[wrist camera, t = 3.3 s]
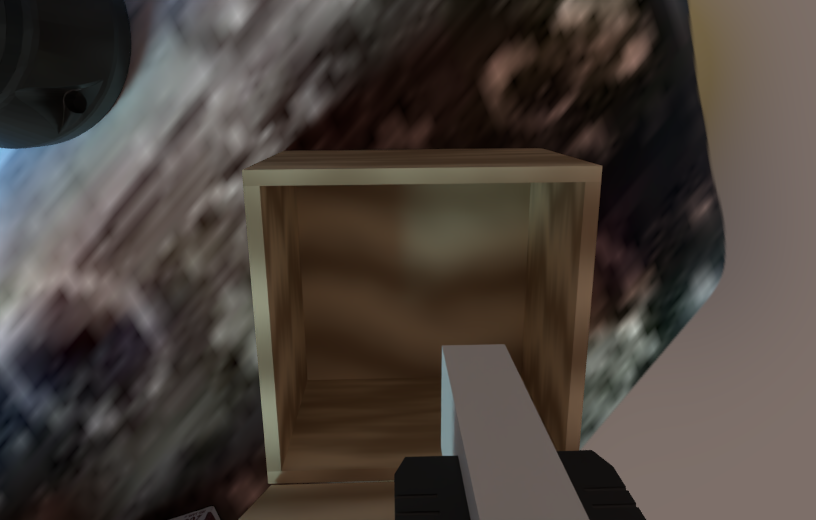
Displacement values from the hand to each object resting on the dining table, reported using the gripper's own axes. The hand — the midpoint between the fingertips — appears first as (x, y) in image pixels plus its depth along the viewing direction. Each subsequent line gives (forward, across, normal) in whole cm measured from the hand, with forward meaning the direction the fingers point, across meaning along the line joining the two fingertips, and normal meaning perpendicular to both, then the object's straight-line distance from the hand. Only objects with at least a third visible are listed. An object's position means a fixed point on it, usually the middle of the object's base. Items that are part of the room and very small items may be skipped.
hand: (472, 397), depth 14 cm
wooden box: (+28, 0, -5) cm, 29 cm away
